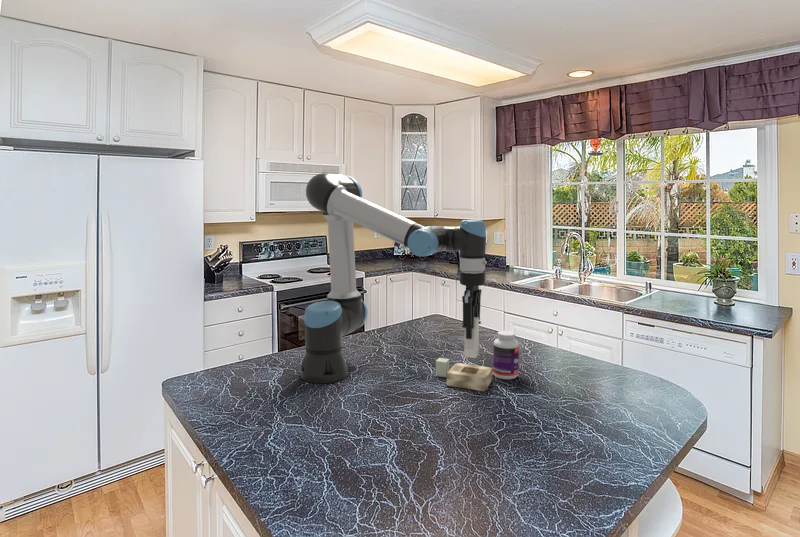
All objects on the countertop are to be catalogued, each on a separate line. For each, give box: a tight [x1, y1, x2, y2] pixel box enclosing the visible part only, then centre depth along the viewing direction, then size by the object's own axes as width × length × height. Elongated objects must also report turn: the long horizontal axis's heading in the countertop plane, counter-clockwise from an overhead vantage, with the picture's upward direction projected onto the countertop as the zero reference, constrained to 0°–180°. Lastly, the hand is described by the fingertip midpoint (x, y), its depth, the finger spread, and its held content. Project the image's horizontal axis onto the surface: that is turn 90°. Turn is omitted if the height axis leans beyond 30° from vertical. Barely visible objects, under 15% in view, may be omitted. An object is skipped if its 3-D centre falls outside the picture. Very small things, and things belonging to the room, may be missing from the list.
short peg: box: [435, 357, 450, 378], centre depth 157 cm, size 4×4×5 cm
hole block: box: [446, 362, 494, 392], centre depth 150 cm, size 12×10×4 cm
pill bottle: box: [492, 330, 520, 380], centre depth 155 cm, size 8×8×14 cm
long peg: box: [463, 317, 480, 359], centre depth 148 cm, size 4×4×12 cm
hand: (471, 346), depth 149 cm, fingers closed on long peg, 3 cm apart
